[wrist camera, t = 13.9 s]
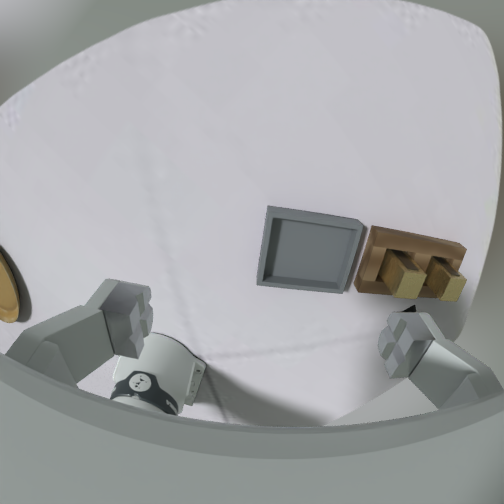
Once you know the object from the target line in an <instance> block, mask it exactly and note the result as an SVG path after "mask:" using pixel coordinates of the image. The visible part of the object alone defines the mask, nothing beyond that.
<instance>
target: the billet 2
mask: <svg viewBox="0 0 504 504" xmlns="http://www.w3.org/2000/svg"><path fill="white" fill-rule="evenodd" d="M425 273H426V274H427V276H426V278H425V283H426V284H427V285H428V286H429V287H430V289H431V290H432V291H433V292H434V294H435V295H436V296H437V297H438V299H439V300H440V301H456V302H457V300H458V298H459V296H460V294H461V292H462V289H463V287H464V285H465V283H466V281H467V279H466V278H465V277H464V276H463V275H462V274H461V273H460V272H459V271H457V270H456V269H455V268H454V267H453V266H452V265H451V264H450V263H449V262H448V261H447V260H446V259H445V258H444V257H438V256H431V259H430V262H429V264H428V267H427V269H426V272H425Z"/></svg>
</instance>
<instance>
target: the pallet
mask: <svg viewBox="0 0 504 504" xmlns="http://www.w3.org/2000/svg"><path fill="white" fill-rule="evenodd" d="M387 248H388V249H395V250H401V251H407V254H408V255H409V256H410V257H411V258H412V259H413V260H414V261H415V262H416V263H417V264H418V265H419V267H420V268H421V269H422V270H423V271H424V272H426V269H427V267H428V264H429V262H430V259H431V256H438V257H444V258H445V259H446V260H447V261H448V262H449V263H450V264H451V265H452V266H453V267H454V268H455V269H456V270H457V271H458V270H459V268H460V265H461V263H462V260H463V258H464V255H465V253H466V250H467V249H466V248H465V247H463V246H462V245H461V244H460V243H457V242H452V241H448V240H443V239H439V238H434V237H429V236H424V235H420V234H415V233H410V232H405V231H399V230H394V229H389V228H384V227H378V226H373V225H372V227H371V230H370V234H369V237H368V240H367V244H366V247H365V250H364V253H363V257H362V260H361V263H360V266H359V269H358V272H357V275H356V278H355V281H354V285H355V287H356V289H357V291H358V292H360V293H372V294H384V295H392V293H391V292H390V290H389V289H388V287H387V285H386V284H385V282H384V281H383V279H382V278H381V277H380V275H379V274H378V272H379V269H380V266H381V263H382V261H383V258H384V255H385V252H386V249H387ZM417 297H427V298H438V297H437V296H436V295H435V294H434V292H433V291H432V290H431V289H430V287H429V286H428V285H427V284H426V283H425V281H424V283H423V285H422V288H421V290H420V292H419V294H418V296H417Z"/></svg>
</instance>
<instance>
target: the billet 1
mask: <svg viewBox="0 0 504 504" xmlns="http://www.w3.org/2000/svg"><path fill="white" fill-rule="evenodd" d="M378 274H379V275H380V277H381V278H382V279H383V281H384V282H385V284H386V285H387V287H388V289H389V290H390V292H391V293H392V295H393V296H394V298H407V299H417V296H418V294H419V292H420V290H421V288H422V285H423V283H424V281H425V278H426V276H427V274H426V273H425V272H424V271H423V270H422V269H421V268H420V267H419V265H418V264H417V263H416V262H415V261H414V260H413V259H412V258H411V257H410V256H409V255H408V254H407V253H406V252H405V251H401V250H395V249H388V248H387V249H386V252H385V255H384V258H383V261H382V263H381V266H380V269H379V272H378Z"/></svg>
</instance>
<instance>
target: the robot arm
mask: <svg viewBox="0 0 504 504" xmlns="http://www.w3.org/2000/svg"><path fill="white" fill-rule="evenodd" d="M150 299H151V289H150V288H149V286H145V285H140V284H135V283H130V282H125V281H119V280H114V279H105V280H104V282H103V283H102V284H101V285H100V287H99V288H98V289H97V290H96V292H95V293H94V294H93V295H92V297H91V298H90V299H89V300H88V302H87V303H86V304H85V306H82V305H80V306H77V307H75V308H73V309H70V310H68V311H66V312H64V313H61V314H59V315H57V316H55V317H52V318H50V319H48V320H46V321H43V322H41V323H39V324H37V325H34V326H32V327H30V328H28V329H26V330H24V331H23V332H22V333H21V334H20V336H19V337H18V338H17V340H16V341H15V342H14V343H13V345H12V346H11V347H10V349H9V350H8V351H7V353H6V354H5V355H4V354H2V353H0V504H504V389H503V388H502V386H501V384H500V383H499V381H498V379H497V378H496V376H495V374H494V373H493V371H492V369H491V368H490V367H488V366H487V365H485V364H484V363H483V362H481V361H480V360H478V359H477V358H475V357H474V356H472V355H471V354H470V353H468V352H467V351H465V350H464V349H462V348H461V347H459V346H458V345H457V344H455V343H454V342H452V341H451V340H449V339H447V340H446V338H445V337H444V335H443V334H442V332H441V331H440V329H439V328H438V326H437V325H436V323H435V322H434V321H433V319H432V318H431V316H430V315H429V314H428V313H426V312H392V313H391V314H390V315H389V317H388V319H387V324H388V326H387V327H386V328H385V329H383V330H382V332H381V334H380V336H379V340H378V350H379V353H380V355H381V356H382V357H383V358H384V359H385V360H386V362H385V364H384V365H385V367H386V370H387V372H388V375H389V377H390V378H404V377H409V379H410V380H411V381H412V382H413V383H414V384H415V385H416V386H417V387H418V388H419V390H421V391H422V392H423V394H425V396H426V397H427V398H428V399H429V400H430V401H431V402H432V403H433V404H434V405H435V406H436V407H437V408H438V409H439V410H438V411H434V412H429V413H425V414H420V415H415V416H410V417H405V418H400V419H393V420H387V421H379V422H372V423H363V424H353V425H341V426H322V427H271V426H253V425H240V424H230V423H221V422H213V421H206V420H199V419H193V418H187V417H181V416H178V414H180V413H182V410H183V406H184V404H186V405H190V406H193V401H194V399H195V396H196V393H197V391H198V388H199V385H200V382H201V379H202V376H203V374H204V371H205V368H206V364H205V363H204V362H202V361H201V360H199V359H197V358H196V357H194V356H193V355H192V354H191V353H190V352H189V351H188V350H187V349H186V348H185V347H184V346H183V345H181V344H180V343H179V342H177V341H175V340H173V339H171V338H169V337H167V336H164V335H160V334H156V333H150V331H151V328H152V323H153V308H152V307H151V306H150V304H149V301H150ZM114 354H115V355H119V357H120V358H119V360H118V363H117V366H116V368H115V371H114V374H113V380H114V382H115V384H116V385H115V387H114V389H113V391H112V393H111V398H110V399H108V398H104V397H101V396H98V395H95V394H92V393H89V392H87V391H84V390H81V389H79V388H78V386H77V383H78V382H79V381H81V380H82V379H83V378H85V377H86V376H87V375H89V374H90V373H91V372H93V371H94V370H96V369H97V368H98V367H100V366H101V365H102V364H104V363H105V362H106V361H108V360H109V359H110V358H112V357H113V356H114Z"/></svg>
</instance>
